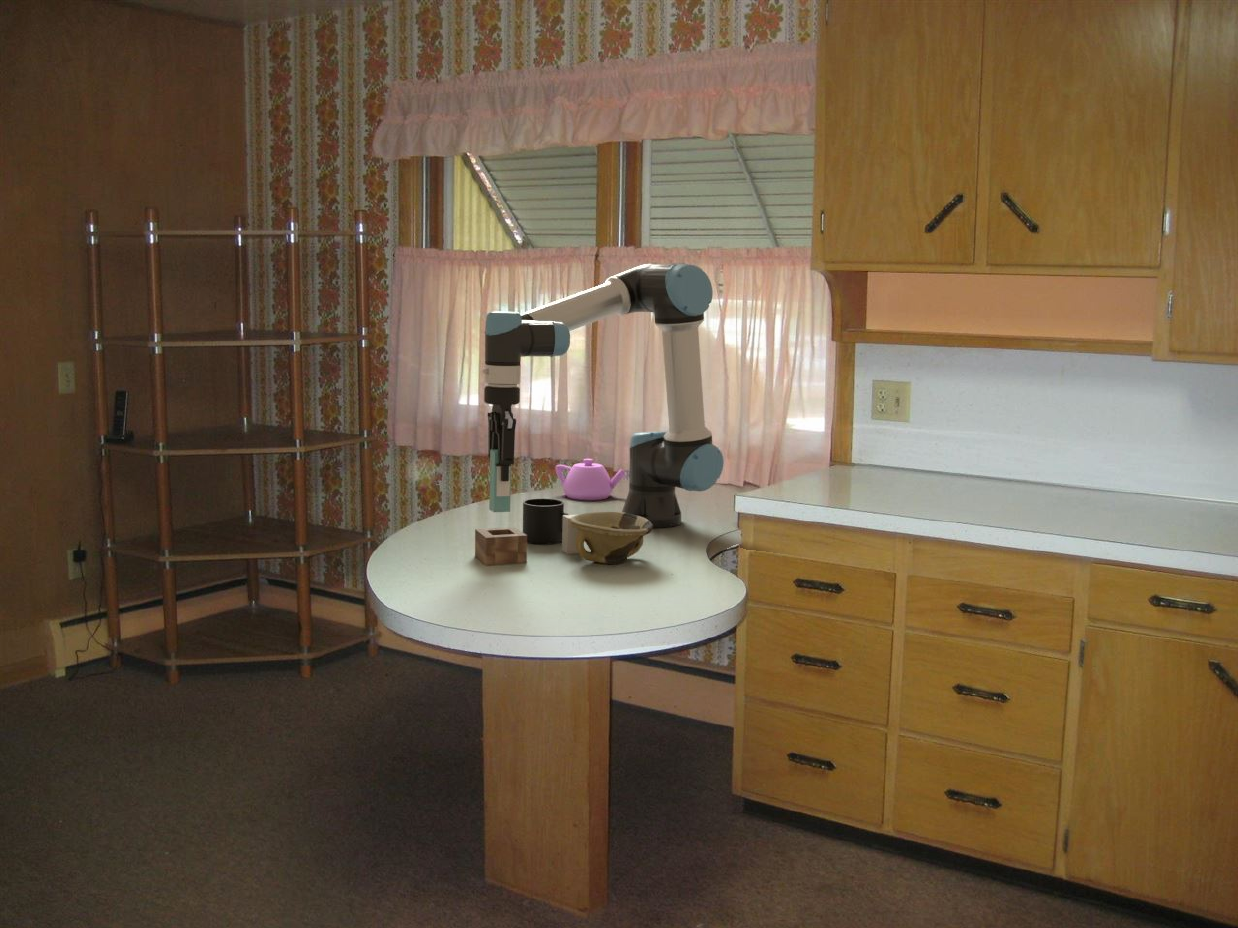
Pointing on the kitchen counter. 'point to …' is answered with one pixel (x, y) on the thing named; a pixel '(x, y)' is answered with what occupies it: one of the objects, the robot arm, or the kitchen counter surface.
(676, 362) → the robot arm
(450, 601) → the kitchen counter surface
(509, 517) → the kitchen counter surface
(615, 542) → the bowl
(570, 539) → the peg mid
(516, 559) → the socket block
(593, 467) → the teapot
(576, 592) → the kitchen counter surface
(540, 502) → the mug
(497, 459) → the peg long
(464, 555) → the kitchen counter surface
